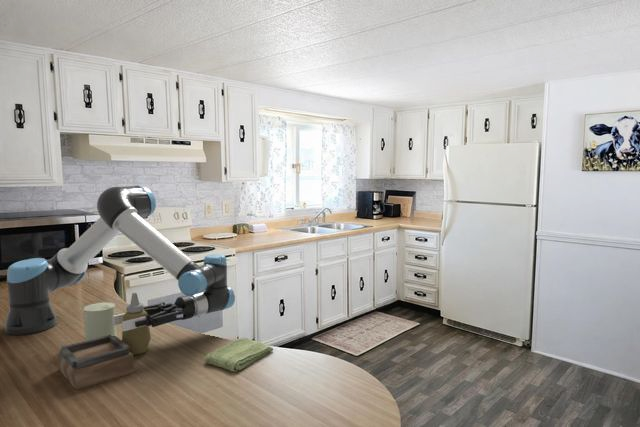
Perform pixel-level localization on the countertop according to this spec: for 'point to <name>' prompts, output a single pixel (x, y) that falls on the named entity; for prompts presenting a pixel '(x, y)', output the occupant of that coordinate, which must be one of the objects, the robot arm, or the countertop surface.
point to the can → (99, 320)
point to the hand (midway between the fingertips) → (118, 323)
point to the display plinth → (95, 361)
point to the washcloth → (238, 354)
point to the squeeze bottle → (138, 336)
